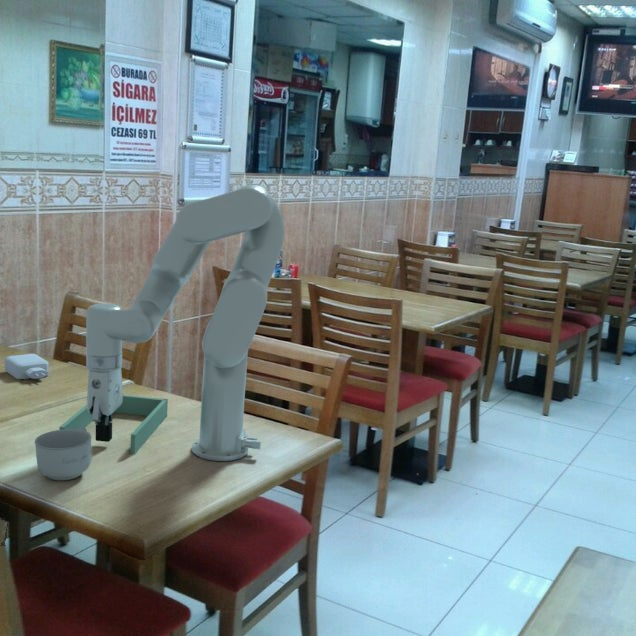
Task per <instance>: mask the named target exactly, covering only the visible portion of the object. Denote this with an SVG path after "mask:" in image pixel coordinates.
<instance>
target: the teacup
mask: <svg viewBox="0 0 636 636" xmlns="http://www.w3.org/2000/svg"><path fill="white" fill-rule="evenodd" d="M34 445H35V457H36V463H37V464H36V466H37V467H38V470H39V472H40V474H42V475H44V476H46V477H47V478H49V479H50V480H53V481H68V480H69V481H70V480H73V479H76V478H78V477H79V476H81V475H82V474H83V473H84V472H85V471H87V470H88V468H89V467H90V465H91V462H92V434H91V433H90V432H88V430H87V428H86V427H85V428H84V427H79V428H77V429H63V430H59V429H56V430H52V431H49V432H48V431H47V432H45V433H42V434H40V435H38V436H37V437H36V438H35V439H34Z"/></svg>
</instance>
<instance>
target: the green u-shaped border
mask: <svg viewBox="0 0 636 636" xmlns="http://www.w3.org/2000/svg"><path fill="white" fill-rule="evenodd" d="M168 401H169V399H167V398H158V397H157V398H156V397H149V396H148V397H147V396H138V395H129V394H123V402H122V404H121V405H120V406H119V407H118V408H117V409H116V410H115V411H114V412H113V413H118V414H119V413H120V414H125V415H126V414H129V415H137V416H146V418H145V419H144V420H143V421H141V423H140V424H139V425H138V426H137V427H136V428H134V429H135V430H134V431H132V432H131V434H130V451H129V454H131V455H136V453H137V452H138V451H139V450H140V449H141V448H142V446H143V445H144V444H145V443H146V442H147V441H148V440H149V438H150V437H151V436H152V434H154V433H155V431H156V430H157V429H158V428H159V426H160V425H161V424H162V423H163V422H164V421H165V419H166V418H167V417H168ZM92 422H93V414H89V413H88V409H87V404H86V405H85V406H83V407H82V408H81V409H79V410H78V411H77V412H75V414H74V415H73V414H72V416H70V417H69V418H68V419H67V420H66V421H65V422H63V423H62V424H60V426H59V429H58V430H63V429H77V428H79V427H84V428H86V427H88V426H89V425H90V424H91V423H92Z"/></svg>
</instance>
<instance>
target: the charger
mask: <svg viewBox="0 0 636 636" xmlns="http://www.w3.org/2000/svg"><path fill="white" fill-rule="evenodd" d="M4 371H5V373H8V374H9V375H10V376H12V377H13V378H15V379H16V380H18V379H24V380H30V379H29V378H31V379H34V380H35V379H42V378H45V377H47V375H48V376H49V375H50V363H49V361H47V360H46V359H44V358H42V357H41V356H39V355H37V354H36V353H27V354H18V355H9V356H6V357H5V358H4Z"/></svg>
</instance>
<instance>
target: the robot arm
mask: <svg viewBox="0 0 636 636" xmlns="http://www.w3.org/2000/svg"><path fill="white" fill-rule="evenodd" d="M283 218H284V217H283V215H282V210H281V209H280V207H279V204H278V203H277V202H276V200H275V199H274V198H273V197H272V195H271V194H270V193H269V192H268V191H267V190H266V189H265V188H264V187H262V186H260V185H257V184H248V185H247V184H246V185H244V186H241V188H239V189H236V190H233V191H230V192H226V193H223V194H218V195H215V196H213V197H210V198H206V199H193V200H191V201H189V202H187V203H186V204H184V205H183V206H182V207H181V208H180V210H179V211H178V213H177V215H176V220H175V222H174V223H173V225H172V227H171V229H170V231H169V232H168V234H167V236H166V237H165V239H164V241H163V242H162V244H161V246H160V248H159V250H158V251H157V253H156V254H155V256H154V259H153V261H152V264H151V269H150V272H149V274H148V276H147V278H146V280H145V282H144V284H143V286H142V288H141V289H140V291H139V292H138V295H137V296H136V298H135V300H134V301H133V303H132V304H131V306H130V307H129V308H127V309H122V308H121V307H120V306H119V305H117V304H114V303H95V304H91V305H89V306H88V308H87V309H86V313H85V314H86V317H85V319H86V320H85V325H86V326H85V327H86V329H85V331H86V332H85V333H86V335H85V336H86V337H85V342H86V345H85V348H86V349H85V352H86V353H85V359H86V361H85V363H86V364H85V366H86V369H87V370H88V380H87V396H86V397H87V399H86V400H87V401H86V405H87V409H88V413H89V414H93V421H92V422H94V423H95V441H96V442H107V443H109V442H110V441H111V440H112V439H113V419H114V413H115V412H114V411H115V410H116V409H117V408H118V407H119V406H120V405H121V404H122V402H123V395H124V394H123V393H124V392H123V375H122V368H123V342H128V343H133V344H141V343H146V342H148V341H149V340H151V339H152V338H153V336H154V335H155V333H156V332H157V330H158V328H159V326H161V323H162V322H163V319H164V318H165V315H166V314H167V312H168V310H169V309H170V307H172V304H173V302H174V301H175V299H176V297H177V295H179V292H180V291H181V289H182V288H183V286H185V285H186V284H187V283H188V281H189V280H190V278H191V276H192V275H193V272H194V270H195V269H196V268H197V266H198V264H199V262H200V260H201V259H202V257H203V256H204V254H205V253H206V250H207V249H208V246H209V245H210V244H211V242H215V241H217V240H221V239H225V238H229V237H231V236H235V235H239V234H242V233H244V236H243V240H242V242H241V245H240V247H239V251H238V253H237V256H236V259H235V262H234V264H233V266H232V269H231V270H230V273H229V275H228V277H227V278H226V279H225V281H224V284H223V286H222V289H221V293H220V294H219V295H220V296H219V298H218V300H217V303H216V306H215V308H214V311H213V313H212V316H211V318H210V321H209V322H208V323H207V325H206V328H205V331H204V333H203V336H202V337H203V338H202V342H201V345H202V352H203V371H202V373H203V374H202V385H201V386H202V387H201V402H200V422H199V423H200V424H199V438H198V439H197V440H194V442H193V443H192V447H191V451H192V453H193V454H194V455H196V456H197V457H199V458H201V459H204V460H209V461H215V462H230V461H234V460H235V461H236V460H238V459H242V458H244V457H245V456H246V455H248V453H249V449H252V450H261V447H262V441H261V440H258V437H255V436H248V435H246V429H244V427H243V426H244V413H245V399H246V398H245V396H246V395H245V394H246V386H247V385H246V384H247V383H246V382H247V372H248V371H247V368H248V354H249V349H250V346H251V344H252V342H253V339H254V337H255V334H256V332H257V330H258V327H259V326H260V322H261V320H262V318H263V315H264V311H265V310H266V306H267V303H268V287H269V285H270V282H271V279H272V277H273V274H274V272H275V269H276V266H277V262H278V260H279V257H280V256H281V255H280V254H281V252H282V249H283V245H284V240H285V223H284V219H283Z"/></svg>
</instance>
